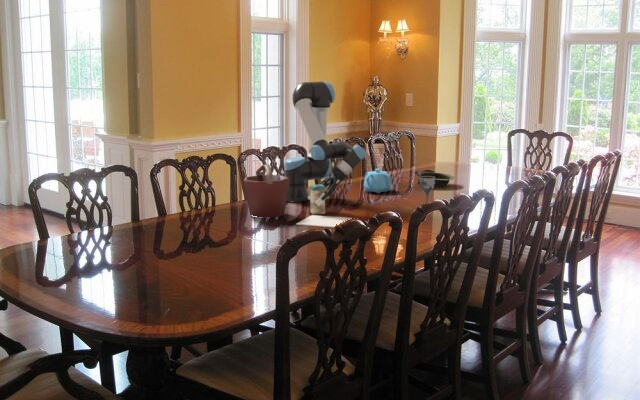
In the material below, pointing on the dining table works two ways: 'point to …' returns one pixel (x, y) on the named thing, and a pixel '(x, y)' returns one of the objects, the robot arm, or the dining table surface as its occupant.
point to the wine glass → (427, 184)
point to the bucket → (266, 193)
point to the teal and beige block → (314, 195)
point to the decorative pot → (377, 181)
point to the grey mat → (322, 221)
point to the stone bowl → (436, 178)
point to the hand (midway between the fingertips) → (313, 202)
